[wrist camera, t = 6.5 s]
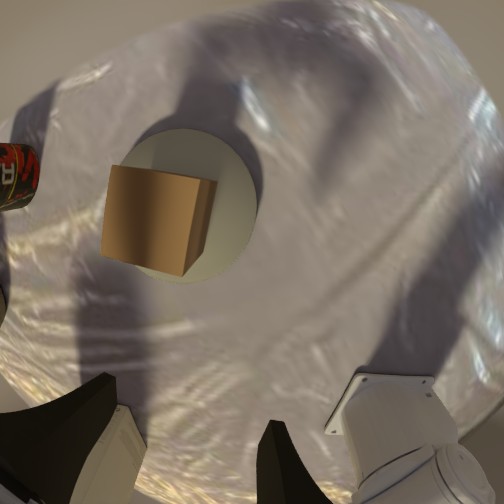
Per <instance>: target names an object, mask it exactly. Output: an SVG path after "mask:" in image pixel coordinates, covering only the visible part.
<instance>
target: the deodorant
mask: <svg viewBox="0 0 504 504" xmlns="http://www.w3.org/2000/svg"><path fill="white" fill-rule="evenodd" d="M38 181H39V161H38V158H37V154H36V152H35V151H34V149H33V148H32V147H31V146H29V145H25V144H12V143H0V212H2V211H7V210H12V209H18V208H22V207H25V206H27V205H28V204H29V203H30V202H31V200H32V198H33V197H34V195H35V192H36V189H37V186H38Z"/></svg>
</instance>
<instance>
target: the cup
mask: <svg viewBox="0 0 504 504" xmlns="http://www.w3.org/2000/svg"><path fill="white" fill-rule="evenodd" d="M5 308H6V306H5V300H4V296H3V293H2V290H1V288H0V327H1V324H2V322H3V320H4V317H5Z"/></svg>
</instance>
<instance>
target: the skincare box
mask: <svg viewBox="0 0 504 504" xmlns="http://www.w3.org/2000/svg"><path fill="white" fill-rule="evenodd" d="M146 451H147V448H146V446H145V443H144V441H143V439H142V437H141V435H140V433H139V431H138V428H137V426H136V424H135V422H134V419H133V417H132V415H131V412H130V410H129V407H127V406H123V405H119V404H117V408H116V410H115V412H114V414H113V416H112V418H111V421H110V422H109V424H108V426H107V427H106V429H105V430H104V432H103V433H102V435H101V436H100V438H99V439H98V441H97V443H96V444H95V446H94V447H93V449H92V450H91V452H90V454H89V455H88V457H87V459H86V461H85V464H84V466H83V468H82V470H81V473H80V475H79V478H78V480H77V483H76V485H75V488H74V491H73V494H72V497H71V500H70V503H69V504H128V502H129V499H130V496H131V493H132V491H133V488H134V485H135V482H136V479H137V476H138V473H139V470H140V467H141V464H142V462H143V459H144V456H145V453H146Z"/></svg>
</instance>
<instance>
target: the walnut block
mask: <svg viewBox="0 0 504 504" xmlns="http://www.w3.org/2000/svg"><path fill="white" fill-rule="evenodd" d="M217 184H218V181H214V180H209V179H204V178H199V177H193V176H188V175H183V174H177V173H172V172H166V171H160V170H154V169H147V168H138V167H129V166H119V165H112V167H111V173H110V179H109V184H108V191H107V197H106V205H105V212H104V221H103V230H102V241H101V254H100V255H102V256H105V257H109V258H112V259H116V260H119V261H123V262H126V263H130V264H133V265H137V266H141V267H144V268H148V269H152V270H156V271H159V272H163V273H167V274H171V275H175V276H179V277H183V276H184V275H185V273H186V272H187V271H188V270H189V269H190V267H191V266H192V265H193V264H194V263H195V262H196V260H197V259H198V258H199V257H200V256H201V255H202V253H203V252H204V246H205V241H206V236H207V231H208V226H209V221H210V216H211V211H212V207H213V202H214V197H215V193H216V188H217Z"/></svg>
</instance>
